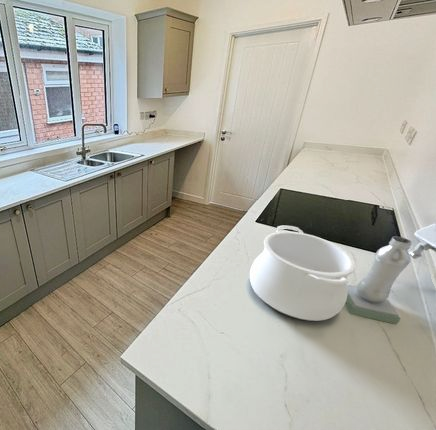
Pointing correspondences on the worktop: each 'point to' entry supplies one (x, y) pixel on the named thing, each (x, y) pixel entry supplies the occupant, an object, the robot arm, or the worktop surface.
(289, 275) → the pot
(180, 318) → the worktop surface
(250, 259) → the worktop surface
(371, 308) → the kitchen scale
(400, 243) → the plastic bottle
